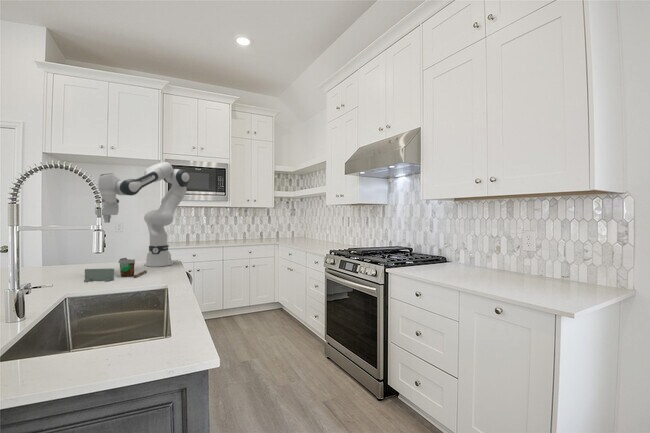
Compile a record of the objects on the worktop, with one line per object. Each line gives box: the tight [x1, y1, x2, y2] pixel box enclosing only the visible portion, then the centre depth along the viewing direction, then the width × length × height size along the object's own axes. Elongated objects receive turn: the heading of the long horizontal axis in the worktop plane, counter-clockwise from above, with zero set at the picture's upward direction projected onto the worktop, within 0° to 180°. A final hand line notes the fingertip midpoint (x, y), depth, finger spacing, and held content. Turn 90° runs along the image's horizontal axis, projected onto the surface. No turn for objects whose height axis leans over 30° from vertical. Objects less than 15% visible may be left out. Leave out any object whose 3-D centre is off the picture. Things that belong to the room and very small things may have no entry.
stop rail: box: [133, 270, 148, 279], centre depth 190 cm, size 16×1×2 cm, turn 9°
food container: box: [118, 257, 136, 278], centre depth 188 cm, size 12×6×10 cm, turn 53°
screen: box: [84, 268, 115, 283], centre depth 174 cm, size 4×14×6 cm, turn 99°
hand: (107, 222), depth 194 cm, fingers closed
